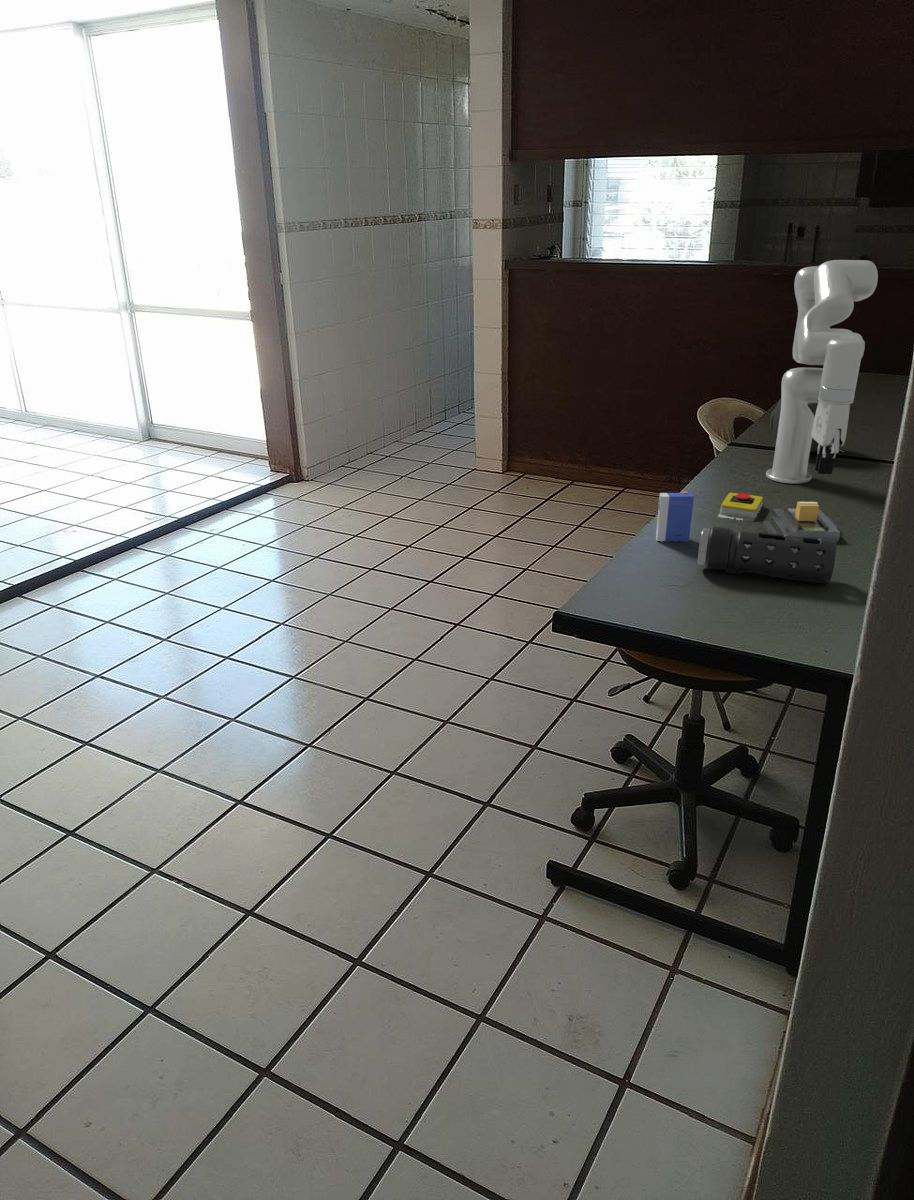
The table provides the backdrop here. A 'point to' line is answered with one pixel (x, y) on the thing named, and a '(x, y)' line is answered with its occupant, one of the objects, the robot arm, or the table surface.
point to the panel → (805, 525)
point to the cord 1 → (769, 527)
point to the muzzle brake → (767, 554)
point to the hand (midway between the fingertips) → (823, 471)
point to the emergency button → (740, 506)
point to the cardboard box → (807, 511)
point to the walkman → (674, 517)
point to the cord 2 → (832, 522)
